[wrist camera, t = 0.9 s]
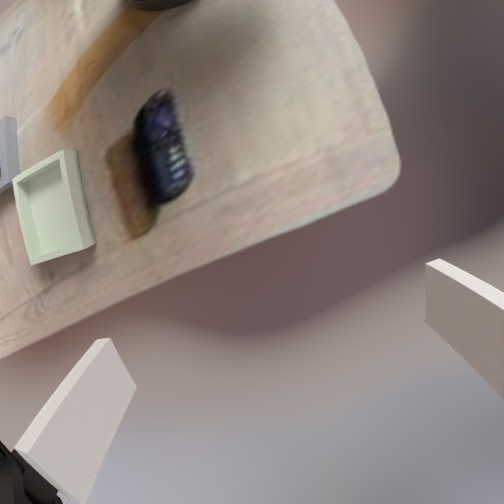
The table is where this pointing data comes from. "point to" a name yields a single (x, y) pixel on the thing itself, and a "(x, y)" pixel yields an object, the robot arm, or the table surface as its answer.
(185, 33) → the table surface
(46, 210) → the tray
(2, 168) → the block
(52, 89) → the table surface
